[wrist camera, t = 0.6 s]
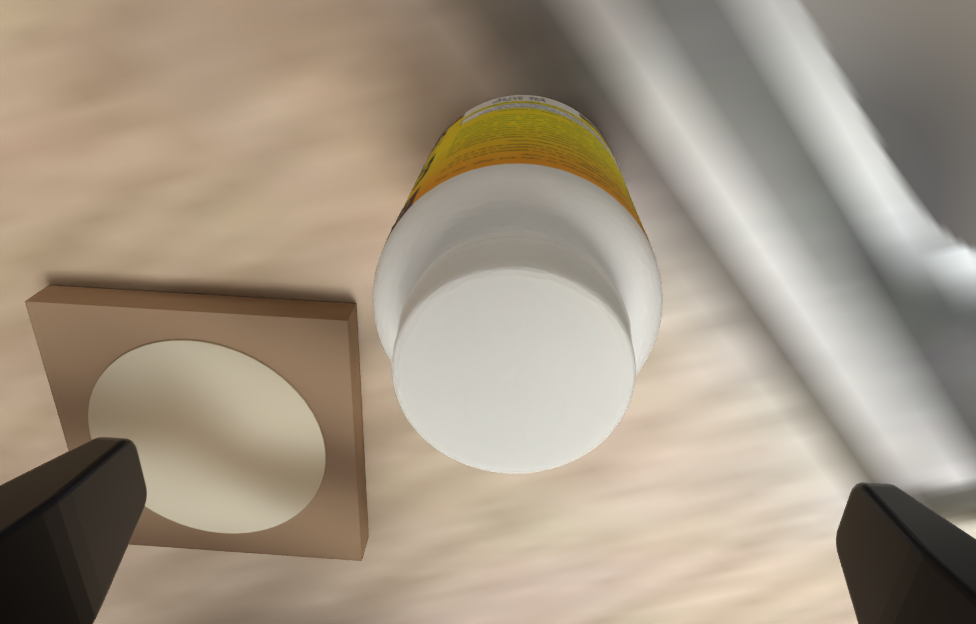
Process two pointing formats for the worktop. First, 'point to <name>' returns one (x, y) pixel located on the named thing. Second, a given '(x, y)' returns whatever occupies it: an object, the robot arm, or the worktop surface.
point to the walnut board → (218, 412)
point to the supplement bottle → (517, 290)
